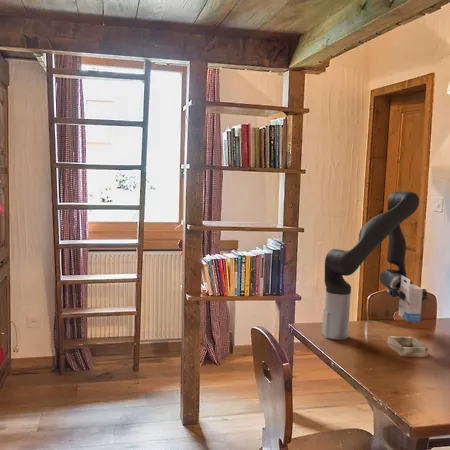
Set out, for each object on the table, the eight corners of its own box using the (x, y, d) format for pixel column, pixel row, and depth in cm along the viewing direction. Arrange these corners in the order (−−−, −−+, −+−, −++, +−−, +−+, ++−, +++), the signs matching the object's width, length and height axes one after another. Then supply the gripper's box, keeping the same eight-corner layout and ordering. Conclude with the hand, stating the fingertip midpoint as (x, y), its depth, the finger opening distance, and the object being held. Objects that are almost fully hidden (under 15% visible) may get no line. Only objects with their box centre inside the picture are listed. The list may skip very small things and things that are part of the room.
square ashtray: (400, 356, 174) (401, 347, 173) (387, 344, 186) (387, 336, 186) (427, 356, 174) (428, 348, 174) (412, 344, 186) (413, 336, 186)
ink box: (421, 322, 175) (424, 280, 173) (406, 321, 175) (409, 279, 173) (411, 315, 183) (414, 275, 182) (397, 314, 183) (400, 274, 182)
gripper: (383, 276, 193) (392, 285, 176) (422, 278, 191) (435, 288, 174) (382, 295, 194) (390, 306, 177) (420, 298, 192) (433, 309, 175)
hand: (412, 297), depth 176 cm, fingers closed on ink box, 5 cm apart
